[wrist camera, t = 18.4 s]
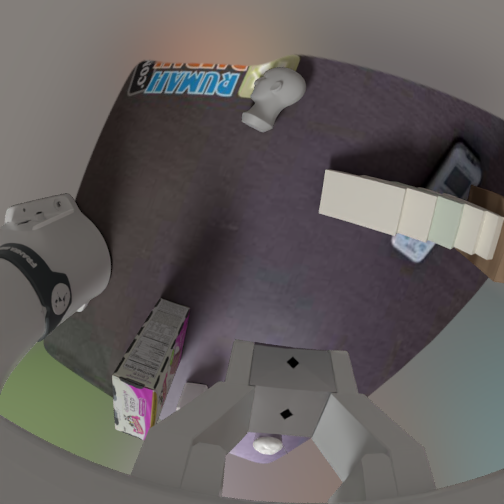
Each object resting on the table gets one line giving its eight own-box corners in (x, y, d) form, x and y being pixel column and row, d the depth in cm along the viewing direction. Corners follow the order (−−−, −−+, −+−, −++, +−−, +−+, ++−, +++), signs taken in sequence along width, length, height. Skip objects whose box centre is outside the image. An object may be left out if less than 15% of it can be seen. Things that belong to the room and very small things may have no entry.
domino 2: (352, 217, 34) (425, 242, 29) (360, 175, 32) (436, 196, 27) (357, 216, 36) (427, 239, 30) (365, 175, 34) (438, 196, 28)
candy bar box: (182, 362, 46) (150, 444, 31) (152, 352, 46) (113, 430, 31) (193, 306, 42) (154, 392, 27) (159, 295, 42) (108, 374, 27)
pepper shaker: (210, 398, 49) (199, 441, 40) (187, 396, 49) (173, 437, 41) (208, 383, 48) (196, 427, 39) (184, 380, 48) (169, 423, 39)
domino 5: (433, 230, 35) (486, 259, 27) (442, 192, 33) (498, 216, 25) (440, 231, 35) (492, 259, 27) (449, 194, 33) (504, 217, 25)
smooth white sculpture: (281, 66, 31) (315, 91, 30) (235, 115, 33) (267, 142, 33) (272, 50, 27) (310, 77, 26) (221, 105, 29) (256, 134, 29)
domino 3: (382, 222, 34) (450, 249, 28) (391, 181, 32) (462, 204, 26) (388, 221, 35) (453, 246, 29) (396, 181, 33) (465, 203, 27)
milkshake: (289, 414, 49) (289, 460, 40) (260, 417, 50) (255, 462, 41) (285, 398, 48) (284, 446, 38) (254, 401, 48) (248, 448, 39)
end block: (455, 248, 36) (493, 281, 26) (471, 184, 32) (516, 203, 23) (475, 252, 35) (514, 284, 26) (491, 191, 32) (536, 211, 23)
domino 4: (409, 226, 34) (471, 255, 27) (417, 187, 32) (483, 211, 26) (415, 226, 35) (475, 253, 28) (423, 187, 33) (487, 211, 26)
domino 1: (318, 213, 34) (394, 235, 30) (325, 169, 33) (405, 189, 28) (324, 211, 36) (397, 232, 31) (330, 169, 34) (407, 188, 29)
